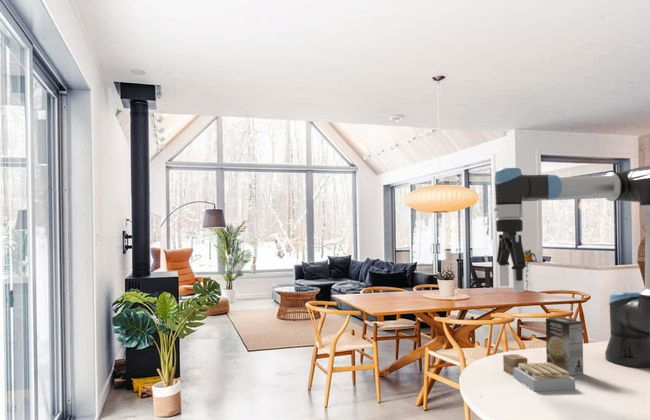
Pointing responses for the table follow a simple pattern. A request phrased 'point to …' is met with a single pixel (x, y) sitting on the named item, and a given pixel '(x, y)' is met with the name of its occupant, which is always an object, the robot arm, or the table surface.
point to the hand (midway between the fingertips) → (511, 289)
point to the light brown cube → (512, 362)
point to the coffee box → (565, 344)
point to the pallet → (543, 370)
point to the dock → (544, 382)
